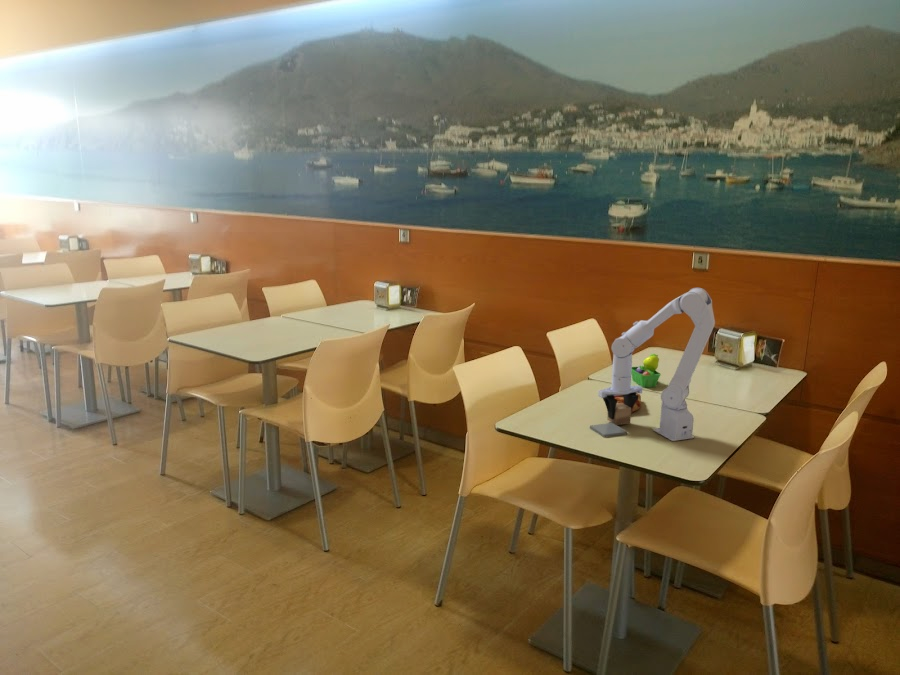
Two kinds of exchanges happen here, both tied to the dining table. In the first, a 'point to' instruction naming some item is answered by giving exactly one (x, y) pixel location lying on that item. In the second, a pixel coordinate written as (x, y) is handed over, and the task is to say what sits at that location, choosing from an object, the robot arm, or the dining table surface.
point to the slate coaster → (608, 429)
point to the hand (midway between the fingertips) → (619, 417)
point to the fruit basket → (647, 372)
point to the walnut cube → (621, 414)
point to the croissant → (636, 405)
